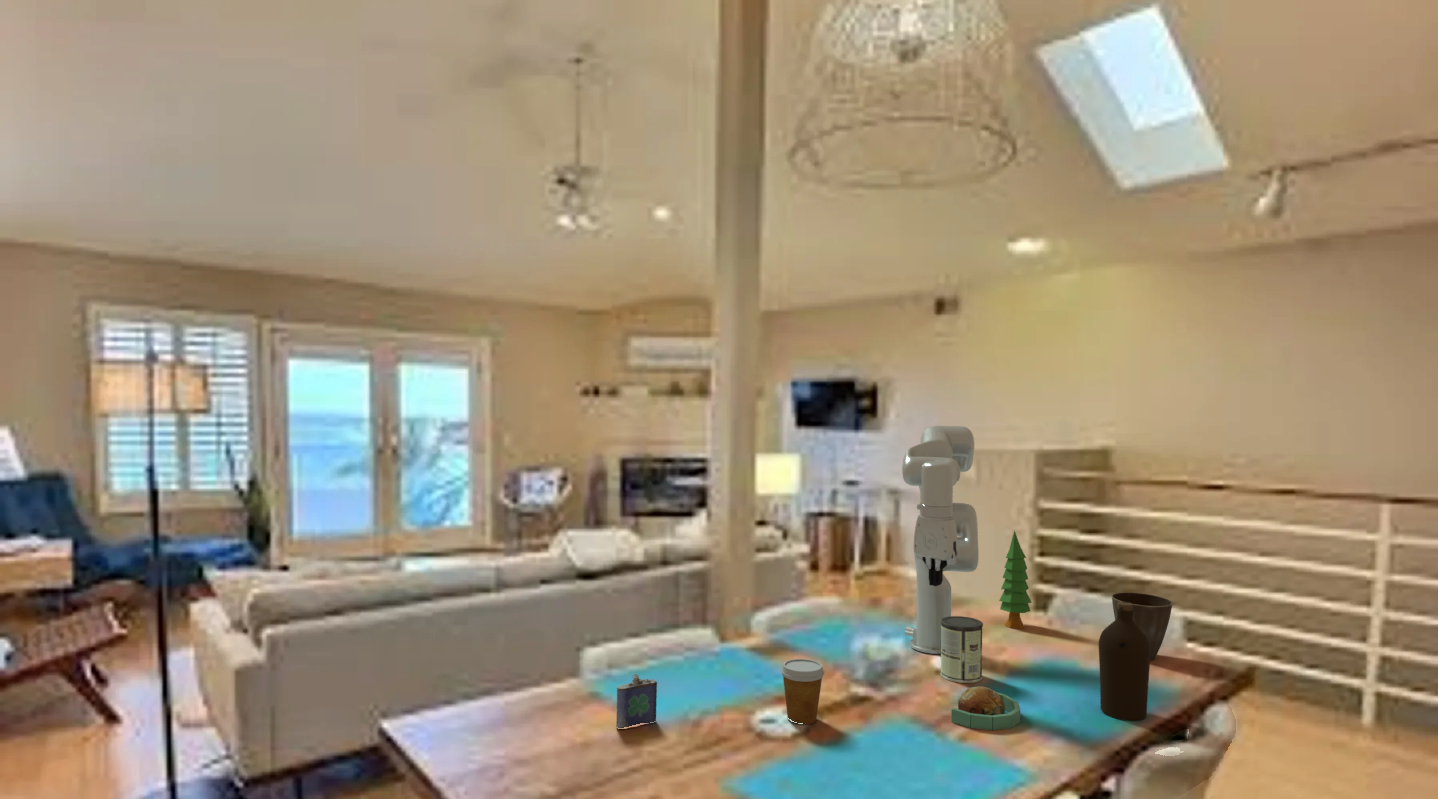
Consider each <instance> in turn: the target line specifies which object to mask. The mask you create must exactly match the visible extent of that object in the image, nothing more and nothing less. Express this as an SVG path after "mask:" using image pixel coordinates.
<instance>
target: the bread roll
mask: <svg viewBox="0 0 1438 799" xmlns="http://www.w3.org/2000/svg"><path fill="white" fill-rule="evenodd" d="M996 692H997V691H995V690H993V689H992V688H990V687H986V686H983V685H982V686H972V687H968V688H967V689H965V690H964V691H963V692H962V693H961V694H960V696H959V698H958V700H957V709H959V710H962V711H965V712H969V713H973V714H983V715H999V714H1006V710H1005V707H1004V703H1003V701H1002V699H1001V697H1000V696H999V694H997V693H998V692H997V693H996Z"/></svg>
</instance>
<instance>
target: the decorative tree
mask: <svg viewBox="0 0 1438 799" xmlns="http://www.w3.org/2000/svg"><path fill="white" fill-rule="evenodd" d="M1018 539H1019V538H1018V536H1017V533H1016V531H1015V530H1014V531H1013V534H1012V538H1011V542H1010V545H1009V549H1008V552H1007V554H1006V556H1005V559H1006V562H1005V564H1004V571H1003V572H1004V573H1003V576H1002V578H1003V579H1004V581H1003V584H1002V585H1001V590H1003V592H1002V593H1001V596H1000V599H999V600H998V601H999V602H1001V604H1000V608H999V610H1001V611H1004V612H1007V613H1009V614H1008V619H1007V620H1006V621H1005V622H1004V623H1003V625H1004V626H1005V627H1007V628H1009V629H1010V628H1011V629H1017V630H1022V629H1023V628H1024V626H1025V625H1024V623H1023V621H1022V618H1021V614H1026V613H1028V612H1031V608H1030V605H1029V604H1031V603H1032V600H1031V598H1030V597H1029V595H1028V592H1027V591H1028V590H1029V589H1030V587H1029V586H1028V585H1029V584H1028V583H1027V580H1029V577H1028V573H1027V569H1028V567H1027V566H1028V565H1027V564H1026V563H1027V562H1026V560H1025V559H1026V558H1027V557H1026V555H1025V553H1024V551H1023V549H1022V546H1021V544H1020V542H1019V540H1018Z"/></svg>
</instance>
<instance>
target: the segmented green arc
mask: <svg viewBox="0 0 1438 799" xmlns="http://www.w3.org/2000/svg"><path fill="white" fill-rule="evenodd" d="M995 692H996V693H997V694H999V696H1000V697H1001V699H1002V701H1003V703H1004V707H1005V711H1007V713H1005V714H999V715H983V714H973V713H969V712H965V711H962V710H959V709H958V708H955V707H953V708H951V721H950V722H951V723H953V724H957V725H960V726H963V727H966V728H969V729H977V730H986V731H997V730H1000V731H1001V730H1007V729H1008V730H1009V729H1012V728H1014V727H1015V726H1017V725H1018V724H1020V723H1021V708H1020V703H1019V702H1018V701H1017V700H1016V699H1014V698H1012V697H1010V696H1008V695H1007V694H1005V693H1001V692H997V691H995Z"/></svg>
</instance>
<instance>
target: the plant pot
mask: <svg viewBox="0 0 1438 799" xmlns="http://www.w3.org/2000/svg"><path fill="white" fill-rule="evenodd" d="M1111 602H1112V609H1113V615H1114V621H1115V620H1116V618H1117V608H1118V606H1117V603H1118V602H1129V603H1132V604H1133V607H1132V610H1133V621H1134V622H1135V624H1136V625H1137V626H1138V627H1139V628H1140V629H1141V630H1142V631H1143V632H1144V634H1145V635H1146V636H1147V638H1148V640H1149V643H1150V647H1151V656H1150V661H1154V660H1155V659H1156V657H1157V655H1158V653H1159V651H1160V649H1161V646H1162V644H1163V641H1164V638H1165V635H1166V633H1167V629H1168V626H1169V622H1170V618H1171V614H1172V608H1173V602H1172V600H1170V599H1168V598H1165V597H1164V596H1163V597H1162V596H1158V595H1155V594H1147V593H1140V592H1124V591H1123V592H1115V593H1113V594H1111Z"/></svg>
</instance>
